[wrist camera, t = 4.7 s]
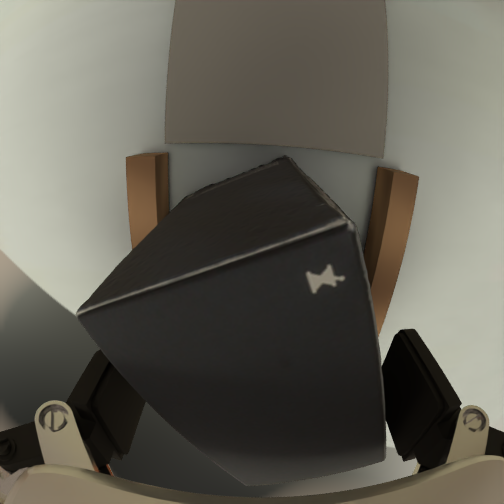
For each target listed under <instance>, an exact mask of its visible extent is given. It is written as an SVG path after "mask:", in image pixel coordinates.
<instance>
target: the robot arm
mask: <svg viewBox="0 0 504 504" xmlns="http://www.w3.org/2000/svg"><path fill="white" fill-rule="evenodd" d="M381 368H382V375H383V386H384V398H385V417H386V422H387V424H388V427H389V430H390V433H391V436H392V439H393V441H394V444H395V447H396V450H397V453H398V455H400V456H402V459H403V461H407V460H411V459H414V458H416V459H417V465H416V467H415V470H414V472H413V474H412V475H411V476H408V477H404V478H401V479H397V480H394V481H390V482H386V483H382V484H377V485H373V486H368V487H363V488H358V489H353V490H347V491H340V492H334V493H326V494H319V495H307V496H294V497H271V498H270V497H260V498H259V497H231V496H217V495H207V494H198V493H191V492H183V491H178V490H171V489H166V488H160V487H156V486H151V485H146V484H142V483H138V482H133V481H129V480H126V479H122V478H118V477H115V476H114V475H113V473H112V471H111V469H110V467H109V465H108V464H109V463H110V460H111V458H115V459H118V460H122V458H123V455H124V454H128V452H129V449H130V446H131V443H132V440H133V437H134V434H135V431H136V428H137V425H138V422H139V419H140V416H141V413H142V410H143V407H144V405H145V402H146V401H145V400H144V399H143V398H142V397H141V396H140V394H139V393H138V392H137V391H136V390H135V389H134V388H133V387H132V386H131V385H130V384H129V383H128V381H127V380H126V379H125V378H124V377H123V376H122V375H121V374H120V372H119V371H118V370H117V369H116V368H115V367H114V365H113V364H112V363H111V362H110V361H109V360H108V358H107V357H106V356H105V355H104V353H103V352H102V351H101V350H99V351H97V352H96V353H95V354H94V356H93V357H92V359H91V361H90V362H89V364H88V366H87V367H86V369H85V371H84V373H83V374H82V376H81V378H80V379H79V381H78V382H77V384H76V386H75V388H74V389H73V391H72V393H71V395H70V396H69V398H68V400H67V402H66V403H64V402H61V401H49V402H47V403H45V404H43V405H42V406H40V407H39V409H38V410H37V412H36V415H35V421H34V422H31V423H28V424H24V425H21V426H18V427H15V428H12V429H8V430H5V431H2V432H0V504H504V432H502V431H499V430H497V429H494V428H492V427H490V426H489V418H488V415H487V414H486V413H485V411H484V410H483V409H481V408H480V407H478V406H474V405H468V406H466V407H464V408H463V409H462V410H461V408H460V405H461V404H462V403H461V401H460V399H459V397H458V396H457V394H456V392H455V391H454V389H453V387H452V386H451V384H450V382H449V381H448V379H447V377H446V376H445V374H444V373H443V371H442V369H441V368H440V366H439V365H438V363H437V361H436V360H435V358H434V357H433V355H432V354H431V352H430V351H429V349H428V348H427V346H426V345H425V343H424V342H423V340H422V339H421V337H420V336H419V334H418V333H417V331H416V330H415V329H402V330H400V331H399V332H398V334H395V336H394V338H393V341H392V343H391V346H390V348H389V350H388V353H387V355H386V358H385V360H384V362H383V365H382V367H381Z"/></svg>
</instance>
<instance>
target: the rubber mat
mask: <svg viewBox="0 0 504 504" xmlns="http://www.w3.org/2000/svg"><path fill="white" fill-rule="evenodd" d="M387 104H388V35H387V18H386V6H385V0H176V2H175V8H174V16H173V23H172V32H171V41H170V50H169V62H168V74H167V90H166V110H165V144H167V143H240V144H262V145H277V146H290V147H301V148H312V149H321V150H329V151H337V152H345V153H352V154H358V155H365V156H371V157H377V158H383V157H384V147H385V136H386V122H387Z"/></svg>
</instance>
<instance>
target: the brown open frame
mask: <svg viewBox="0 0 504 504" xmlns="http://www.w3.org/2000/svg"><path fill="white" fill-rule="evenodd" d="M126 177H127V196H128V211H129V222H130V233H131V242H132V250H133V248H135V247H136V246H137V245H138V244H139V243H140V242H141V241H142V240H143V239H144V238H145V237H146V235H147V234H149V233H150V231H151V230H153V229H154V228H155V227H156V226H157V224H158V223H159V222H160V221H162V219H163V218H165V217H166V216H167V215H168V214H169V191H168V153H144V154H138V155H133V156H129V157H126ZM418 180H419V177H418V176H416V175H413V174H410V173H407V172H404V171H400V170H395V169H389V168H383V167H378V169H377V177H376V185H375V192H374V199H373V205H372V212H371V218H370V223H369V229H368V234H367V240H366V245H365V250H364V255H363V256H364V261H365V265H366V269H367V274H368V280H369V283H370V289H371V295H372V300H373V306H374V311H375V317H376V323H377V331H378V336H379V334H380V331H381V328H382V325H383V322H384V319H385V317H386V314H387V311H388V308H389V304H390V301H391V298H392V295H393V292H394V288H395V285H396V282H397V278H398V274H399V271H400V267H401V263H402V260H403V256H404V252H405V247H406V243H407V239H408V234H409V230H410V225H411V220H412V215H413V210H414V205H415V199H416V193H417V187H418Z"/></svg>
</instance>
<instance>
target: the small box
mask: <svg viewBox="0 0 504 504" xmlns="http://www.w3.org/2000/svg"><path fill="white" fill-rule="evenodd" d="M76 316H77V318H78V320H79V321H80V323H81V324H82V325H83V327H84V328H85V329H86V331H87V332H88V333H89V335H90V337H91V338H92V339H93V340H94V341H95V343H96V344H97V345H98V347H99V348H100V350H101V351H102V352H103V353H104V355H105V356H106V357H107V358H108V360H109V361H110V362H111V363H112V364H113V365H114V367H115V368H116V369H117V370H118V371H119V372H120V374H121V375H122V376H123V377H124V378H125V379H126V380H127V381H128V383H129V384H130V385H131V386H132V387H133V388H134V389H135V390H136V391H137V392H138V393H139V394H140V396H141V397H142V398H143V399H144V400H145V401H146V402H147V403H148V404H149V405H150V406H151V407H152V408H153V409H154V410H155V411H156V412H157V413H158V414H159V415H160V416H161V417H162V418H163V419H165V421H167V422H168V423H169V424H170V425H171V426H172V427H173V428H174V429H175V430H176V431H178V432H179V433H180V434H181V435H182V436H183V437H184V438H185V439H186V440H188V441H189V442H190V443H191V444H192V445H194V446H195V447H196V448H197V449H198V450H199V451H201V452H202V453H203V454H205V455H206V456H207V457H208V458H209V459H211V460H212V461H213V462H214V463H216V464H217V465H218V466H220V467H221V468H222V469H224V470H225V471H226V472H228V473H229V474H231V475H232V476H233V477H235V478H236V479H238V480H239V481H240V482H242V483H243V484H245V485H246V486H256V485H269V484H276V483H285V482H292V481H299V480H305V479H311V478H317V477H322V476H328V475H332V474H336V473H341V472H346V471H350V470H353V469H357V468H361V467H365V466H368V465H371V464H375V463H378V462H382V461H384V460H385V458H386V417H385V398H384V386H383V375H382V368H381V355H380V347H379V340H378V331H377V323H376V317H375V311H374V306H373V300H372V295H371V289H370V283H369V280H368V274H367V269H366V265H365V261H364V256H363V251H362V246H361V242H360V237H359V233H358V230H357V226H356V225H355V223H354V222H353V221H351V220H350V218H348V217H347V216H346V215H345V213H344V212H343V211H342V210H341V209H340V207H339V206H338V205H337V204H336V203H335V202H334V201H333V200H331V199H330V197H329V196H328V195H327V194H326V193H324V192H323V190H322V189H321V188H319V186H318V185H316V183H315V182H314V181H313V180H312V179H311V178H310V177H308V176H306V175H305V173H304V172H303V171H302V170H301V169H300V168H299V167H298V166H297V165H296V163H295V162H294V161H293V159H291V158H289V157H287V156H283V158H278V159H276V160H274V161H272V162H271V163H269V164H267V165H260V166H259V167H258V168H254V169H251V170H250V171H248V172H246V173H244V172H243V173H242V174H240V175H237V176H235V177H232V178H227V179H226V180H224V181H222V182H219V183H217V184H211V185H209V186H207V187H204V188H203V189H200V190H199V191H197V192H195V193H194V194H192V195H189V196H187V197H185V198H184V199H183V200H182V201H181V202H180V203H179V204H178V205H177V206H176V207H175V208H174V209H173V210H172V211H171V212H170V213H169V214H168V215H167V216H166V217H165V218H163V219H162V221H160V222H159V223H158V224H157V226H156V227H155V228H154V229H153V230H151V231H150V233H149V234H147V235H146V237H145V238H144V239H143V240H142V241H141V242H140V243H139V244H138V245H137V246H136V247H135V248H133V250H132V251H131V252H130V253H129V254H128V255H127V257H125V258H124V259H123V260H122V261H121V262H120V263H119V265H118V266H117V267H116V268H115V269H114V270H113V271H112V273H111V274H110V275H109V276H108V277H107V278H106V279H105V280H104V282H103V283H102V284H101V285H100V286H99V287H98V288H97V289H96V291H95V292H94V293H93V294H92V295H91V297H90V298H89V299H88V300H87V301H86V302H85V303H84V304H82V305H81V306H80V308H79V309H78V311H77V313H76Z"/></svg>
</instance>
